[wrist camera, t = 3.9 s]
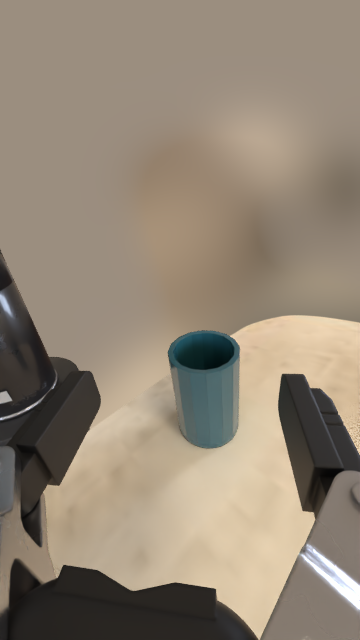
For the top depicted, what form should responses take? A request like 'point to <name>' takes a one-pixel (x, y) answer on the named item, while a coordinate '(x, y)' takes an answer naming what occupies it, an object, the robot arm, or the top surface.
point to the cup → (206, 386)
